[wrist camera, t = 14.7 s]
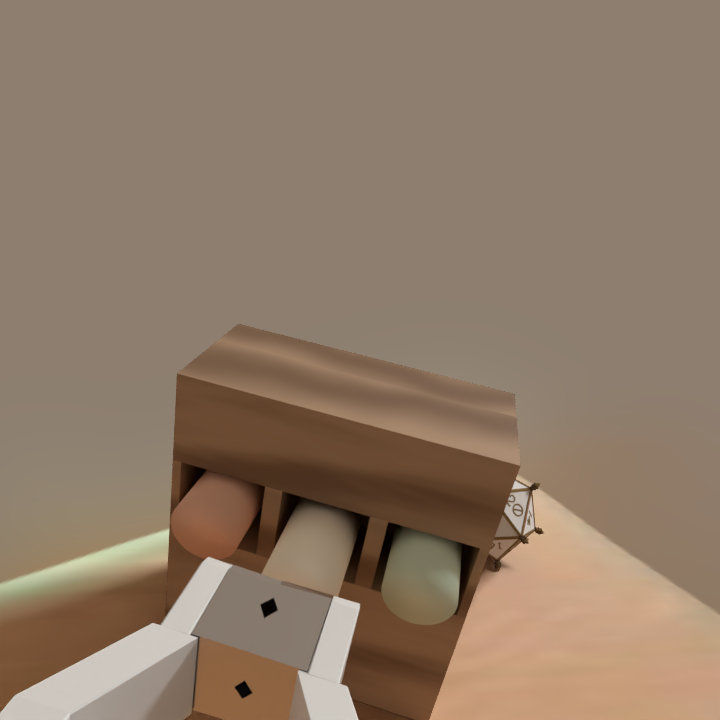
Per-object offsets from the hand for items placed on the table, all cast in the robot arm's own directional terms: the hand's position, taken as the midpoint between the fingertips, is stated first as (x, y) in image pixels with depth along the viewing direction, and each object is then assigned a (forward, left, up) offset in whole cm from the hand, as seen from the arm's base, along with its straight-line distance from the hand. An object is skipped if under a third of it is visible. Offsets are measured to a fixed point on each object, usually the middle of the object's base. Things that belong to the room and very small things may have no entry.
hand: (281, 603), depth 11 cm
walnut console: (-2, +21, -26) cm, 34 cm away
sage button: (+4, +18, -16) cm, 25 cm away
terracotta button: (-8, +18, -16) cm, 26 cm away
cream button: (-2, +16, -16) cm, 23 cm away
